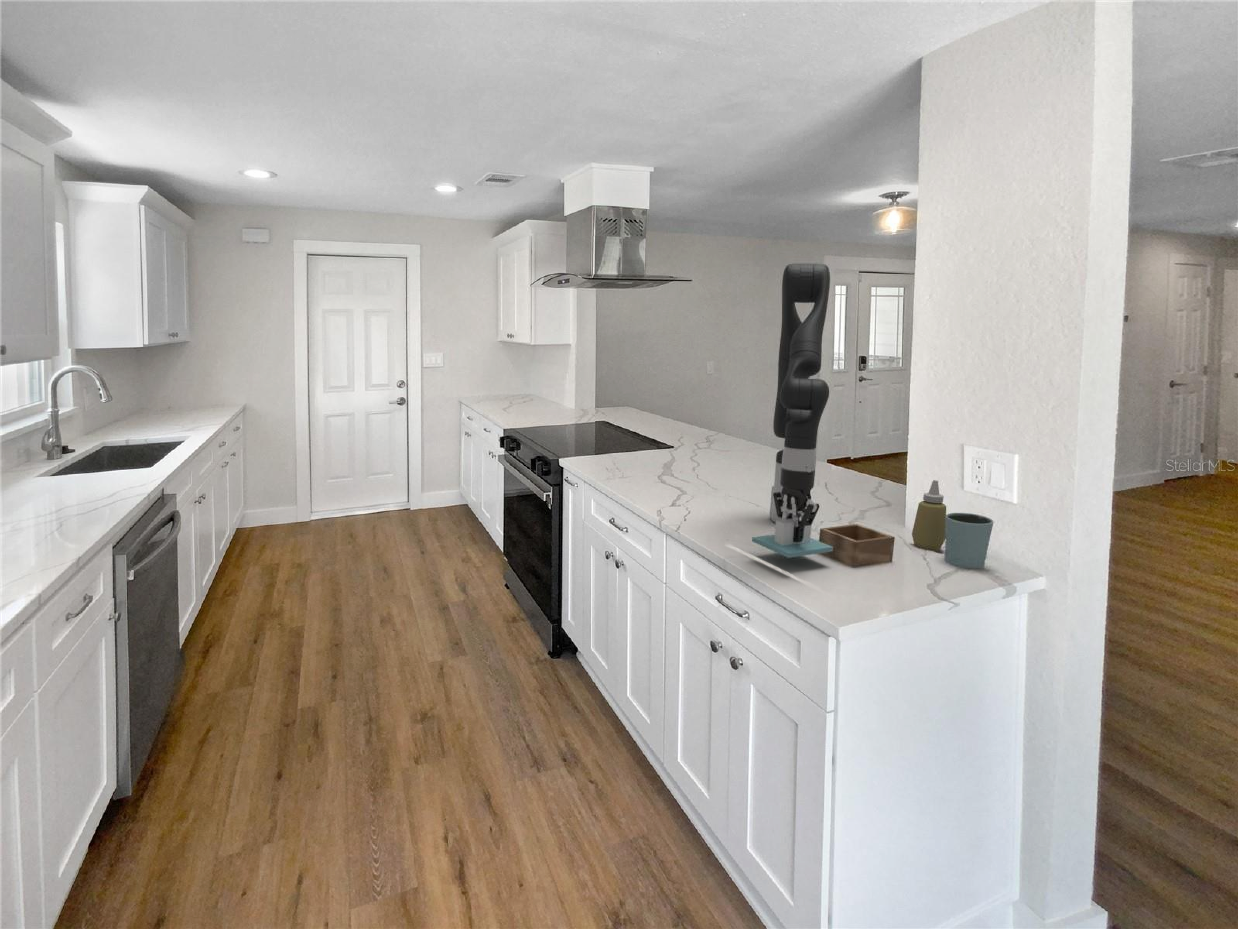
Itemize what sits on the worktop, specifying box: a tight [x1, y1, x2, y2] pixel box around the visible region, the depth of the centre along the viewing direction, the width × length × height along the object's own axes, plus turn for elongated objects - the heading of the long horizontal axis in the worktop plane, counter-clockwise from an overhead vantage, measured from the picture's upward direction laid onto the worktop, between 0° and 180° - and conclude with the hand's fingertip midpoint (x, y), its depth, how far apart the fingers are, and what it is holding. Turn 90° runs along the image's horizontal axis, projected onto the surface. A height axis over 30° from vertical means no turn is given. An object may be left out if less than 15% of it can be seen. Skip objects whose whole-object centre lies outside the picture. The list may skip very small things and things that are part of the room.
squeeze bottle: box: [911, 479, 947, 553], centre depth 182 cm, size 8×8×18 cm
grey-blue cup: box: [944, 512, 995, 570], centre depth 170 cm, size 10×10×12 cm
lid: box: [751, 518, 833, 559], centre depth 166 cm, size 13×13×7 cm
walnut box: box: [818, 523, 896, 569], centre depth 172 cm, size 12×12×7 cm
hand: (792, 539), depth 166 cm, fingers closed on lid, 3 cm apart
